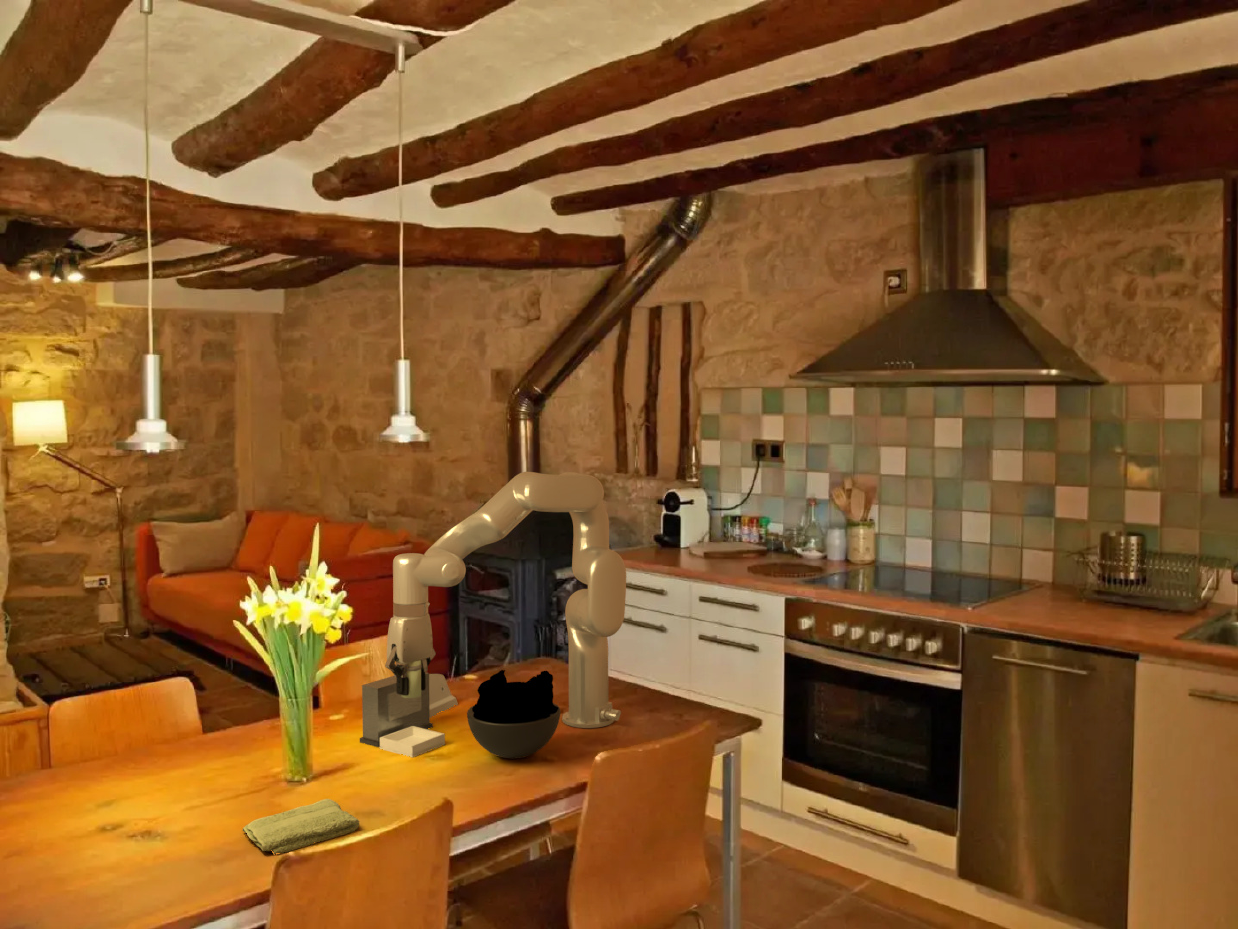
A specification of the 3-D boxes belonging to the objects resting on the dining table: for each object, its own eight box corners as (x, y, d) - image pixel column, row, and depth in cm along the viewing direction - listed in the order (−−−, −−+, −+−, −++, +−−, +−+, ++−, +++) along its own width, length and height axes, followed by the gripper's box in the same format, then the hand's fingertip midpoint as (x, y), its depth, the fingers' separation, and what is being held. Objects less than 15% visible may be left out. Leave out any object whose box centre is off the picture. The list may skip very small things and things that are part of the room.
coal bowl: (448, 763, 217) (448, 675, 216) (499, 736, 235) (498, 655, 234) (531, 778, 209) (530, 687, 208) (576, 748, 227) (576, 664, 226)
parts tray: (444, 744, 229) (444, 733, 229) (412, 757, 221) (412, 746, 221) (412, 736, 235) (412, 726, 235) (379, 748, 227) (379, 737, 226)
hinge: (419, 722, 245) (407, 682, 246) (404, 727, 247) (392, 686, 248) (459, 704, 260) (447, 666, 261) (444, 708, 262) (432, 670, 263)
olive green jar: (426, 694, 228) (425, 659, 227) (410, 699, 224) (410, 663, 224) (411, 691, 230) (411, 656, 230) (396, 696, 227) (395, 660, 226)
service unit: (432, 727, 242) (432, 672, 241) (378, 747, 228) (377, 689, 227) (414, 723, 245) (413, 669, 244) (359, 742, 231) (358, 685, 230)
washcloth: (238, 836, 182) (238, 818, 182) (333, 811, 193) (333, 794, 193) (265, 861, 172) (264, 842, 172) (363, 834, 183) (363, 816, 183)
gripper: (425, 602, 235) (425, 681, 236) (369, 614, 221) (370, 698, 222) (449, 606, 231) (450, 686, 232) (394, 618, 217) (394, 703, 218)
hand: (411, 691), depth 227 cm, fingers closed on olive green jar, 4 cm apart
